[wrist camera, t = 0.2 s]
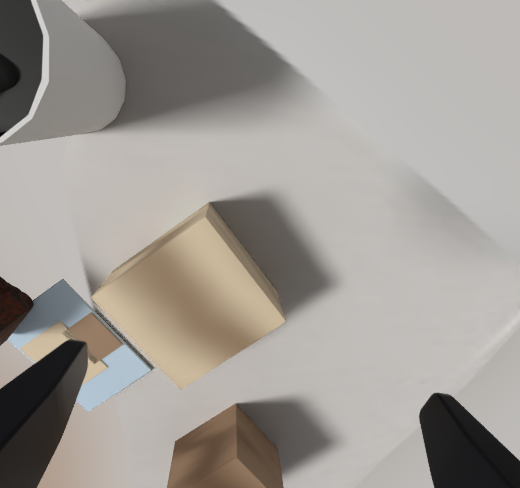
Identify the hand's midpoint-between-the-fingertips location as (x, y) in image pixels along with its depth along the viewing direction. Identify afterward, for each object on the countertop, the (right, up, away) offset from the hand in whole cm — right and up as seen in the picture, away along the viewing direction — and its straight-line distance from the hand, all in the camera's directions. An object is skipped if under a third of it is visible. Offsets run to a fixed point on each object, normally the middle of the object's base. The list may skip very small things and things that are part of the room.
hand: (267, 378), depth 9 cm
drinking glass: (-11, +13, +11) cm, 20 cm away
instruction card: (-13, -4, +16) cm, 21 cm away
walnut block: (-3, -13, +20) cm, 24 cm away
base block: (-4, +1, +15) cm, 16 cm away
